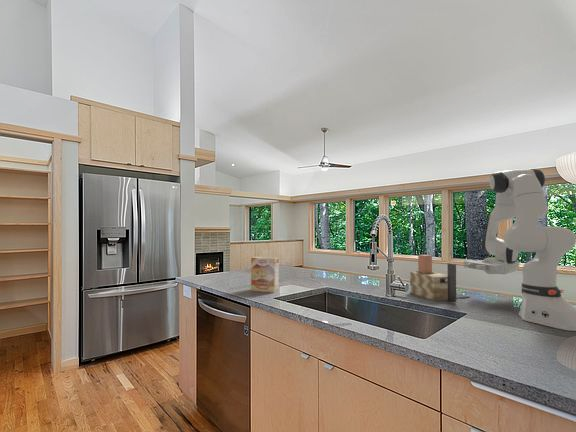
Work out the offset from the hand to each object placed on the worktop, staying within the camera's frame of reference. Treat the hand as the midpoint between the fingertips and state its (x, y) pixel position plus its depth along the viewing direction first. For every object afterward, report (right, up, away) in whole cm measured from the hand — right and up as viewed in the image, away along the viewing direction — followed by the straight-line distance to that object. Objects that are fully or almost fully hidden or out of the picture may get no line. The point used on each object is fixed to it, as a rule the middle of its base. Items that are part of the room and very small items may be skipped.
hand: (471, 266), depth 162 cm
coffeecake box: (-110, -18, +20) cm, 113 cm away
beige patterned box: (-17, -18, +10) cm, 26 cm away
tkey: (-13, -17, -3) cm, 22 cm away
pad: (-3, -18, +9) cm, 20 cm away
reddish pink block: (-18, -6, +14) cm, 24 cm away
